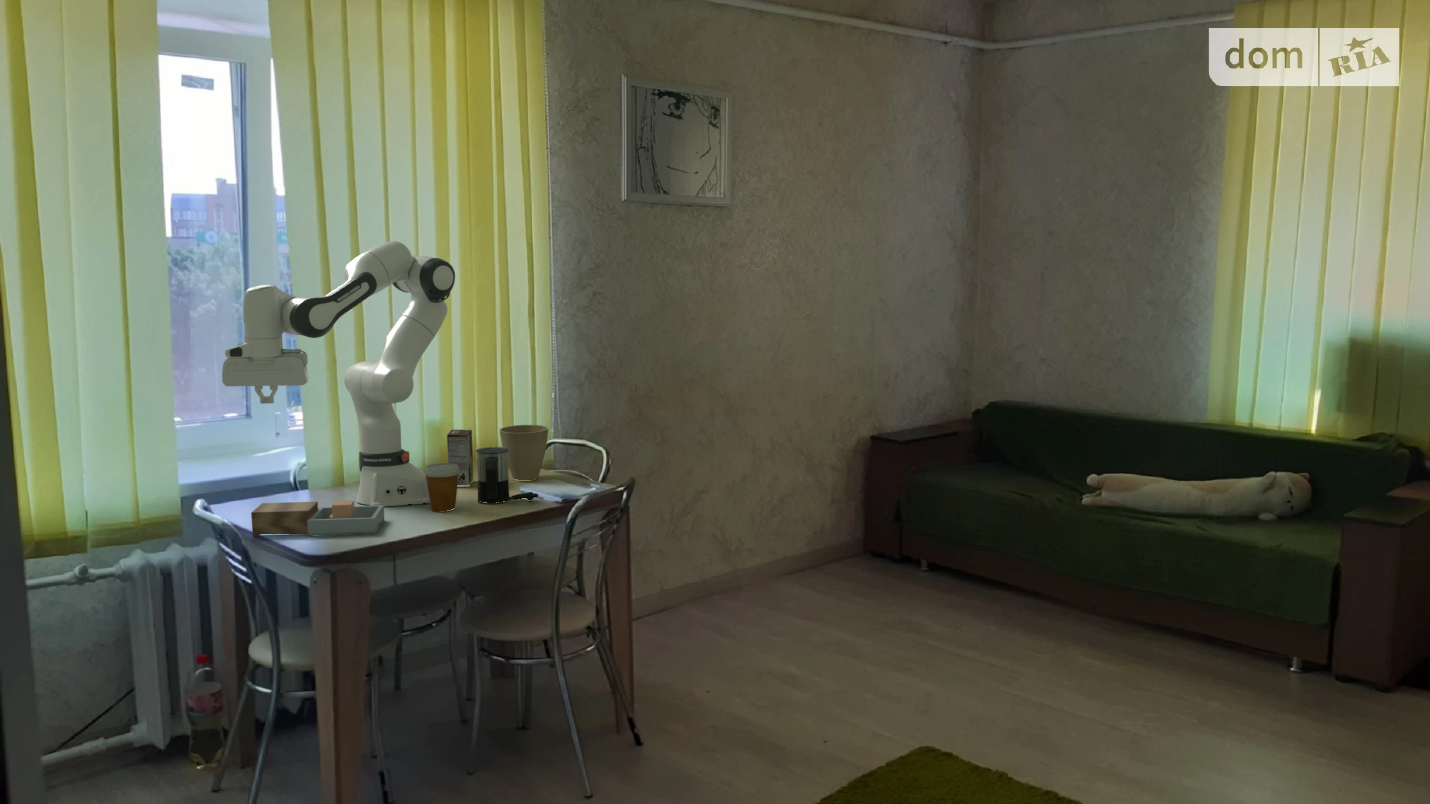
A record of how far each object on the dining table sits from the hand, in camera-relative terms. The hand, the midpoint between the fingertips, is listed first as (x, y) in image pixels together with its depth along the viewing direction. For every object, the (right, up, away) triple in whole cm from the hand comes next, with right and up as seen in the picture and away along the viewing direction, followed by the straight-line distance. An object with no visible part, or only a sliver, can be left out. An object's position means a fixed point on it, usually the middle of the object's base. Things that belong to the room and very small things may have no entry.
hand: (267, 403), depth 271 cm
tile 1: (+20, -28, -2) cm, 35 cm away
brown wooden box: (+6, -32, -4) cm, 33 cm away
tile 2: (+20, -28, -2) cm, 34 cm away
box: (+21, -32, -2) cm, 38 cm away
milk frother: (+56, -28, +28) cm, 68 cm away
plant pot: (+56, -24, +57) cm, 83 cm away
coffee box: (+38, -25, +50) cm, 67 cm away
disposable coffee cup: (+40, -29, +18) cm, 53 cm away
